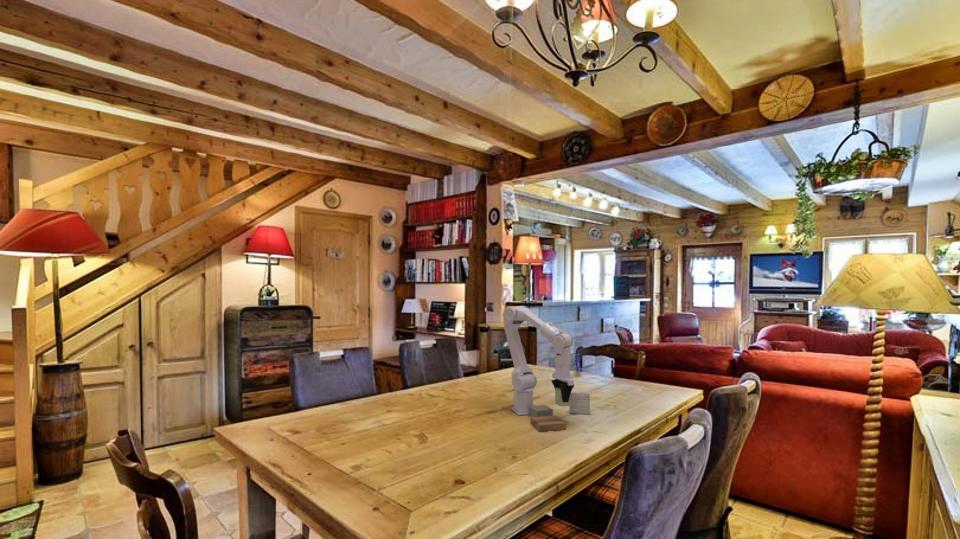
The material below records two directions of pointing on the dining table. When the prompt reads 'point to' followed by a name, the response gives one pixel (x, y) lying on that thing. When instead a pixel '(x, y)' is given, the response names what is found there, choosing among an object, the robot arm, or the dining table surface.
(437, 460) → the dining table surface
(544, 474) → the dining table surface
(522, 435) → the dining table surface
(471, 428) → the dining table surface
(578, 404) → the medicine box
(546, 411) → the grey block
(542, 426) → the walnut block
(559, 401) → the sage block
